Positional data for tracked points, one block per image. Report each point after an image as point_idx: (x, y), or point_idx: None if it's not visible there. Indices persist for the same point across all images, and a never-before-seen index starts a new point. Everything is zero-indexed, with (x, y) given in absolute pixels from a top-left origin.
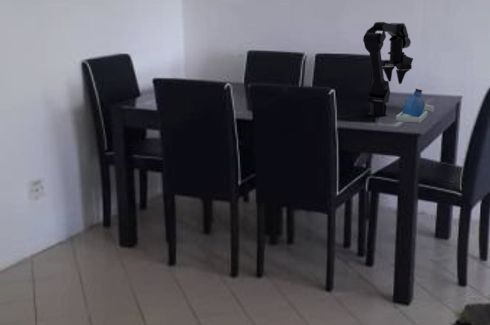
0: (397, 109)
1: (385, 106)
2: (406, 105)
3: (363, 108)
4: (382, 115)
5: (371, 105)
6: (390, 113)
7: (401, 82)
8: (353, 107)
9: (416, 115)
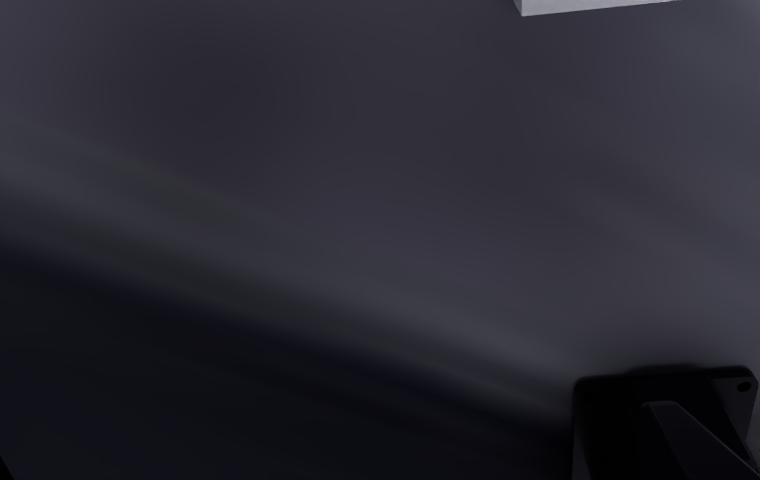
0: (382, 40)
1: (748, 457)
2: None
3: (180, 408)
4: (747, 423)
5: None
6: (628, 268)
7: (708, 439)
8: (94, 468)
9: None
